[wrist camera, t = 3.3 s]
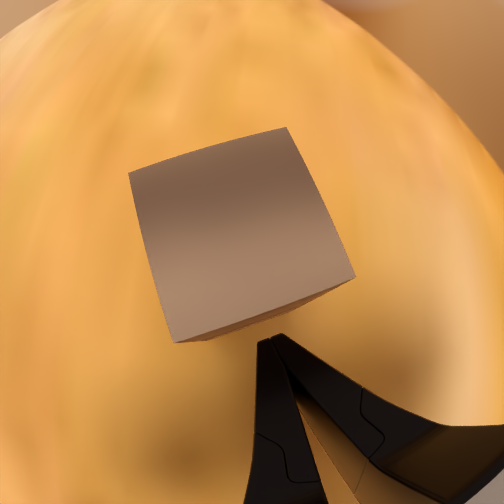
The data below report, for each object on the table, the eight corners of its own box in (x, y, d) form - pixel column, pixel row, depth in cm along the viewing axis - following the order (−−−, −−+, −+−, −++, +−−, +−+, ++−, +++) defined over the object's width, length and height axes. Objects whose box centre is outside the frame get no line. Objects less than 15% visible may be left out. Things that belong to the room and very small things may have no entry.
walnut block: (291, 310, 18) (356, 276, 8) (207, 340, 17) (173, 343, 7) (260, 231, 19) (286, 127, 9) (180, 258, 18) (128, 173, 9)
